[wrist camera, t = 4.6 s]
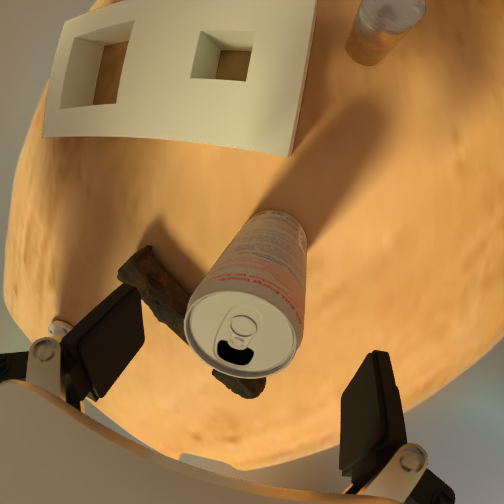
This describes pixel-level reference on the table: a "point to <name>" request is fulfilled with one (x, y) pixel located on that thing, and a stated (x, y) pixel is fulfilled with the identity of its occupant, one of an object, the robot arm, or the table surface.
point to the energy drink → (252, 300)
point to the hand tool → (174, 309)
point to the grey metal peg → (381, 28)
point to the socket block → (186, 72)
